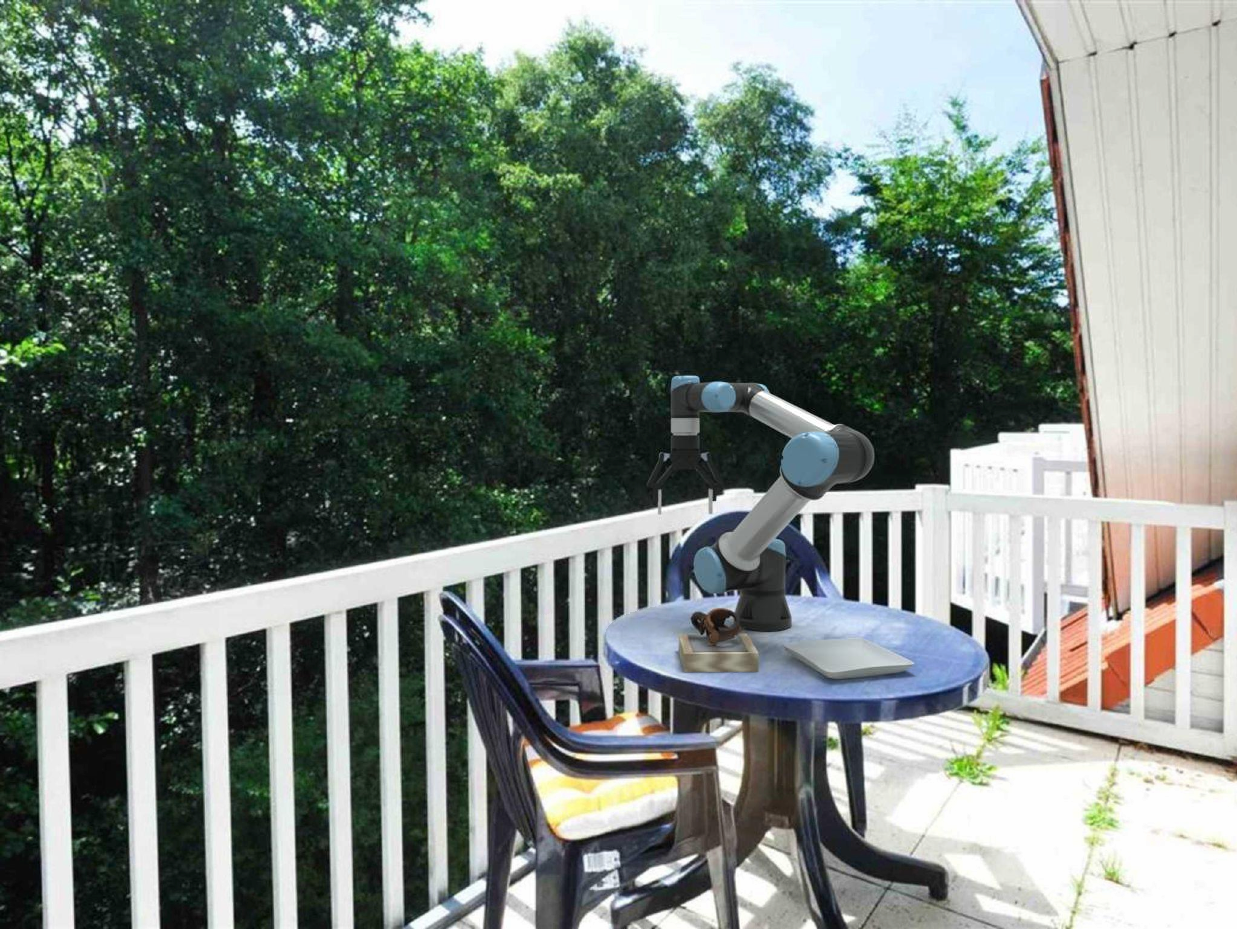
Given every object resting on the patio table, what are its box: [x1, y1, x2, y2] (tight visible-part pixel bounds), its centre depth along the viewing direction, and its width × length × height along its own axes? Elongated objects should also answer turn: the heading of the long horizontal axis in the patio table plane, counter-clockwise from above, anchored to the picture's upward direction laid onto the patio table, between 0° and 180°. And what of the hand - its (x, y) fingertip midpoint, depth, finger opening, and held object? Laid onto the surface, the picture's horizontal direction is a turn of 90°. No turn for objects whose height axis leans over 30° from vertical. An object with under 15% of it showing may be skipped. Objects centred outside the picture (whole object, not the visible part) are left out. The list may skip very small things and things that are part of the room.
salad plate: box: [781, 637, 915, 680], centre depth 183 cm, size 21×21×3 cm
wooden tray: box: [677, 633, 760, 673], centre depth 187 cm, size 16×16×4 cm
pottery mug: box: [689, 607, 743, 646], centre depth 189 cm, size 12×10×8 cm
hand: (685, 513), depth 222 cm, fingers open, 13 cm apart
